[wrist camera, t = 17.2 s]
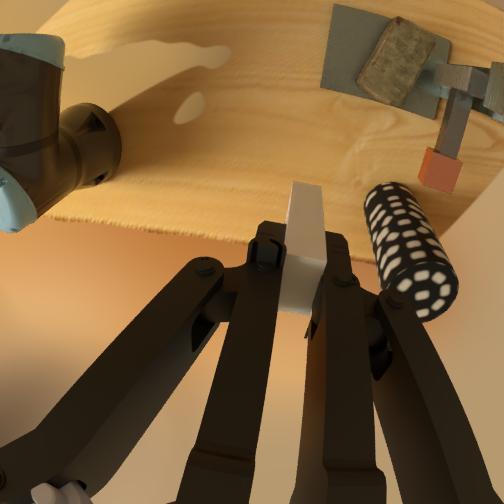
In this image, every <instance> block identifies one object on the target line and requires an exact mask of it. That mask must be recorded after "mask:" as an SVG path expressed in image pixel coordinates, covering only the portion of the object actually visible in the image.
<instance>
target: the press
mask: <svg viewBox="0 0 504 504" xmlns="http://www.w3.org/2000/svg"><path fill="white" fill-rule="evenodd" d="M390 20H391V19H390V18H387V17H384V16H381V15H377V14H374V13H370V12H366V11H363V10H359V9H355V8H350V7H346V6H342V5H337V4H334V6H333V12H332V18H331V25H330V31H329V37H328V43H327V49H326V55H325V61H324V67H323V73H322V78H321V84H320V88H325V89H330V90H334V91H338V92H343V93H347V94H351V95H355V96H358V97H362V98H366V99H370V100H373V101H377V102H380V101H378V100H376V99H374V98H373V97H371V96H370V95H369V94H368V93H366V92H365V91H363V90H362V89H361V88H360V87H359V85H358V83H357V79H358V77H359V75H360V73H361V71H362V69H363V67H364V66H365V64H366V63H367V61H368V60H369V58H370V56H371V54H372V53H373V51H374V49H375V47H376V45H377V44H378V42H379V40H380V38H381V36H382V34H383V33H384V31H385V29H386V27H387V25H388V24H389V22H390ZM426 32H427V31H426ZM428 33H430V32H428ZM430 34H431V35H432V36H433V37H434V38H435V40H436V45H435V47H434V49H433V51H432V52H431V54H430V56H429V59H428V60H427V62H426V64H425V66H424V68H423V69H422V71H421V73H420V74H419V76H418V78H417V79H416V81H415V83H414V85H413V86H412V88H411V90H410V91H409V92H408V93H407V95H406V97H405V98H404V100H403V102H402V105H401V106H394V107H397V108H400V109H403V110H406V111H409V112H412V113H415V114H418V115H421V116H424V117H426V118H429V119H432V120H434V118H435V114H436V110H437V106H438V102H439V97H441V98H443V99H446V100H448V97H449V93H450V89H448V88H446V87H443V86H441V85H439V84H436V83H433V80H434V75H435V70H436V65H437V64H447V60H448V54H449V48H450V42H451V41H449V40H447V39H444V38H442V37H440V36H437V35H435V34H432V33H430ZM449 65H455V64H449ZM459 66H465V65H459ZM468 67H473V68H475V69H477V70H479V71H481V72H483V73H485V74H487V75H489V80H488V85H487V89H486V94H485V98H484V100H483V99H480V98H477V97H473V101H472V105H471V109H470V110H472V111H475V112H477V113H479V114H482V115H484V116H486V117H488V118H491V119H493V120H495V121H497V122H499V123H501V124H503V125H504V63H500V62H492V64H491V69H489V68H482V67H474V66H468ZM380 103H382V102H380Z"/></svg>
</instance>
